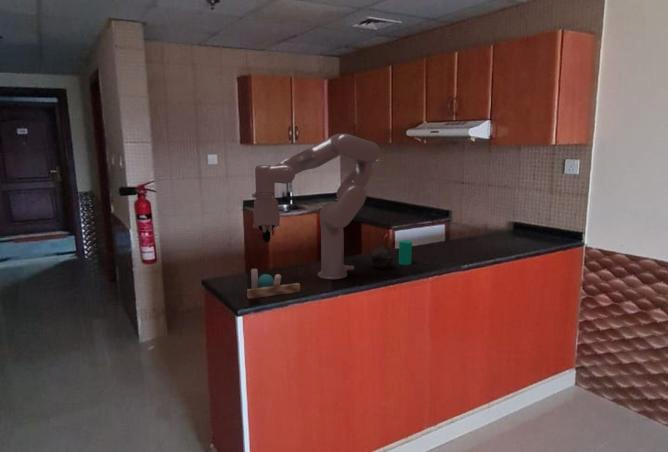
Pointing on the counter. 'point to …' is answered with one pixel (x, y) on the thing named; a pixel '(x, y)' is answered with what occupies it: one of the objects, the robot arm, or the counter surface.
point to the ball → (265, 281)
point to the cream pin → (277, 280)
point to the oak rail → (273, 290)
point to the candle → (405, 252)
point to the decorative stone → (382, 257)
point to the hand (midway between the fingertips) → (266, 241)
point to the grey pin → (254, 278)
